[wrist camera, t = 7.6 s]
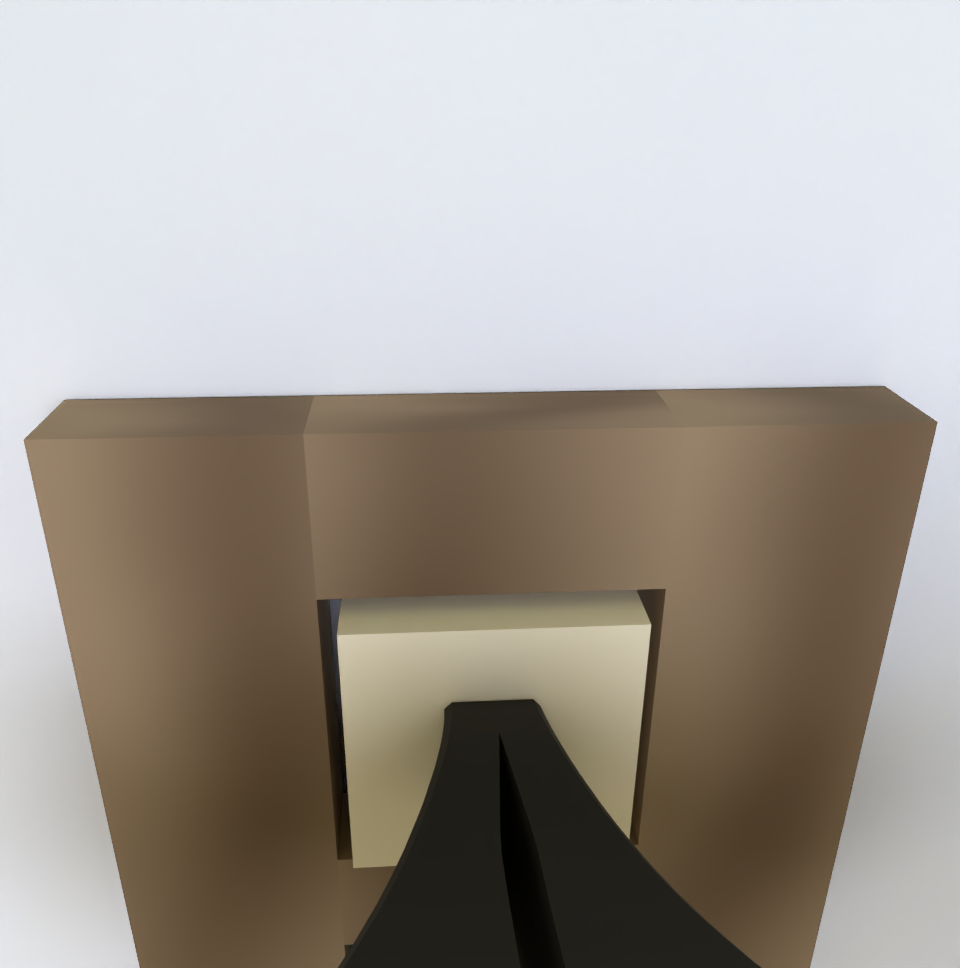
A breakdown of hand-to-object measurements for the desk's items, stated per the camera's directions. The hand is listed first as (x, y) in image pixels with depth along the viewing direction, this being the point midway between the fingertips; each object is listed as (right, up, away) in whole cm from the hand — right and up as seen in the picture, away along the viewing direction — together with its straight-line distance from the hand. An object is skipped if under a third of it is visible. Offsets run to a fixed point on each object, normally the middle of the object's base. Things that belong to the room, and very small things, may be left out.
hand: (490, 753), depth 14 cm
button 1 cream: (0, +1, +2) cm, 2 cm away
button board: (0, -6, +5) cm, 7 cm away
